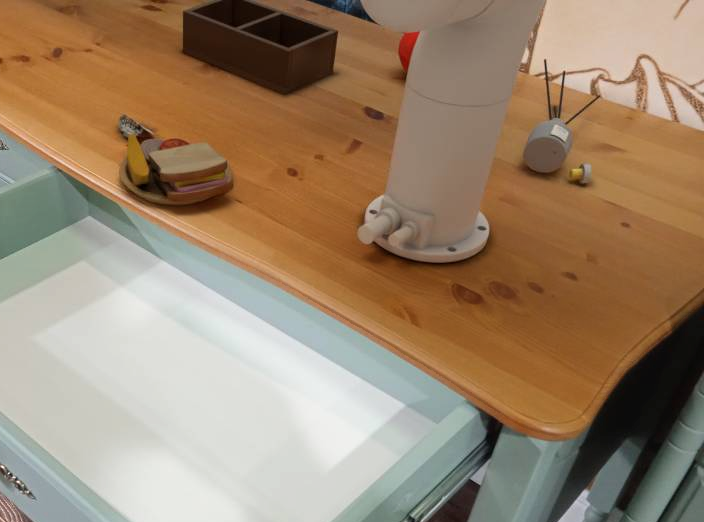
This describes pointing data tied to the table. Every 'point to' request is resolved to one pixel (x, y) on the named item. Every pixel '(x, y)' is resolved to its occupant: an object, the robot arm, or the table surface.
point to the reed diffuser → (554, 142)
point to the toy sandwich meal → (174, 171)
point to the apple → (407, 48)
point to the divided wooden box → (260, 43)
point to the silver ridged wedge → (130, 126)
